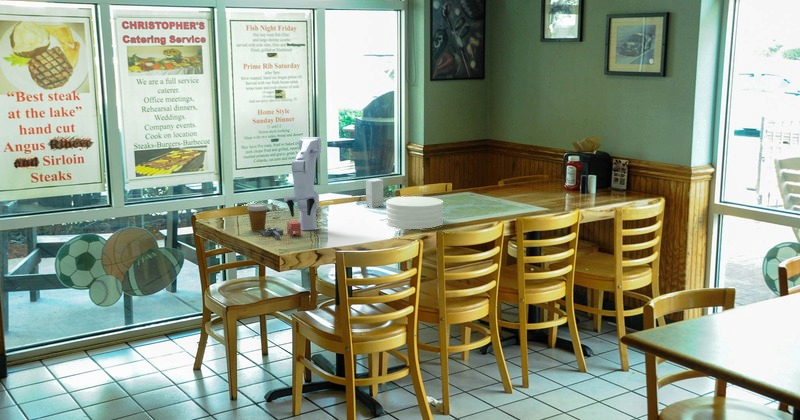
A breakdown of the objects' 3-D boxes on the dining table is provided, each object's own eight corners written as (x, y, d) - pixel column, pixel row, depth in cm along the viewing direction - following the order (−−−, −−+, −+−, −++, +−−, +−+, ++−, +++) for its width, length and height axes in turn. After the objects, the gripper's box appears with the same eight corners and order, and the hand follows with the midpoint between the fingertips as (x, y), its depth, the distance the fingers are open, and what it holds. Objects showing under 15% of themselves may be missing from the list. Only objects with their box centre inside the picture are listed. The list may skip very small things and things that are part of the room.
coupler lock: (287, 233, 390) (287, 221, 389) (296, 233, 391) (296, 220, 390) (291, 236, 383) (290, 224, 382) (300, 236, 385) (300, 223, 384)
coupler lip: (261, 233, 390) (260, 227, 390) (280, 231, 394) (279, 226, 393) (268, 240, 377) (268, 233, 376) (288, 238, 380) (287, 232, 379)
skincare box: (377, 204, 465) (377, 178, 462) (384, 206, 460) (384, 179, 457) (365, 206, 459) (365, 179, 457) (371, 208, 455) (371, 180, 452)
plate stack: (449, 220, 422) (450, 198, 420) (433, 231, 396) (433, 207, 394) (397, 217, 431) (397, 194, 429) (377, 227, 406) (377, 204, 403)
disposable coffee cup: (253, 232, 392) (252, 207, 389) (244, 229, 399) (243, 204, 397) (271, 230, 397) (271, 205, 395) (262, 227, 405) (261, 202, 402)
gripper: (286, 188, 374) (287, 218, 377) (318, 186, 380) (318, 216, 382) (282, 186, 381) (283, 215, 383) (313, 184, 386) (313, 213, 389)
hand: (300, 215), depth 383 cm, fingers open, 7 cm apart
